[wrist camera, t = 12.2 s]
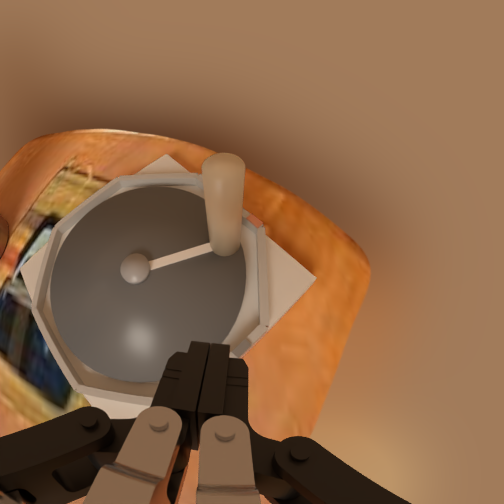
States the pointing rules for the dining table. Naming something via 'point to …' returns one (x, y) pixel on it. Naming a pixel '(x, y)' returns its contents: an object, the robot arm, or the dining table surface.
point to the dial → (153, 274)
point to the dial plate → (241, 335)
